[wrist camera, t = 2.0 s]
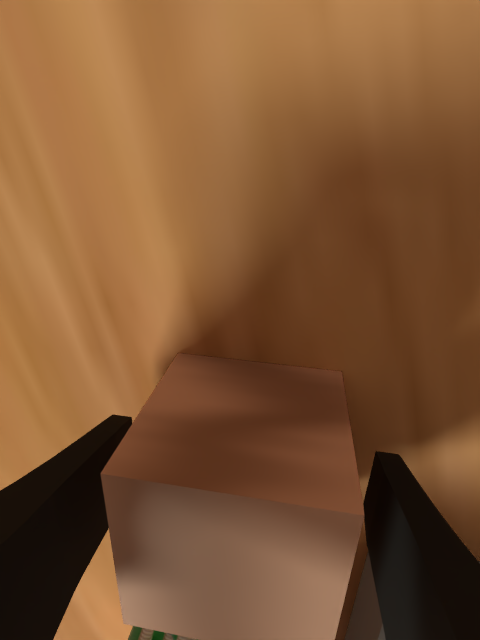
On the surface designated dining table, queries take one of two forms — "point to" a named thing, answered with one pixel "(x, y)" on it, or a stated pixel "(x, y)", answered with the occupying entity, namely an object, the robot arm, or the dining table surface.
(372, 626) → the charcoal slab
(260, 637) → the terracotta cube
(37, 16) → the dining table surface
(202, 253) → the dining table surface
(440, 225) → the dining table surface
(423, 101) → the dining table surface
